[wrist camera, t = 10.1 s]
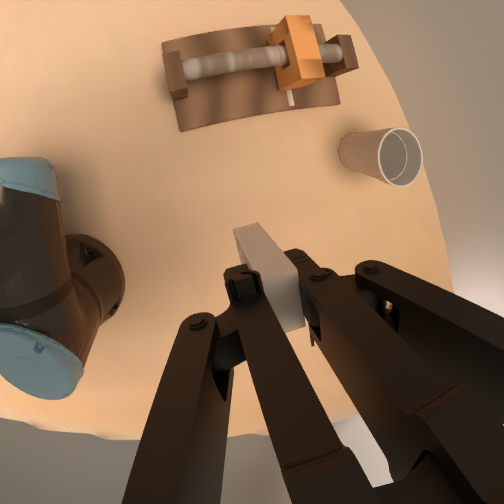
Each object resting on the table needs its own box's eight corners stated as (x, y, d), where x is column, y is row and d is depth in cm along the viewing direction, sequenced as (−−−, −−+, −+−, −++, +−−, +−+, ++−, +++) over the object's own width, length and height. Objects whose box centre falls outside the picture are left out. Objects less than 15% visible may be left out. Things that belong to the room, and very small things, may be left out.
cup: (336, 124, 41) (380, 121, 30) (376, 132, 43) (424, 134, 32) (332, 173, 44) (374, 184, 33) (372, 177, 45) (419, 190, 34)
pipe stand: (181, 131, 37) (178, 128, 30) (162, 45, 32) (156, 23, 24) (336, 104, 40) (365, 99, 32) (318, 26, 34) (342, 8, 27)
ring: (279, 90, 35) (301, 78, 27) (267, 37, 32) (285, 15, 24) (300, 88, 35) (325, 77, 28) (287, 36, 32) (309, 15, 25)
